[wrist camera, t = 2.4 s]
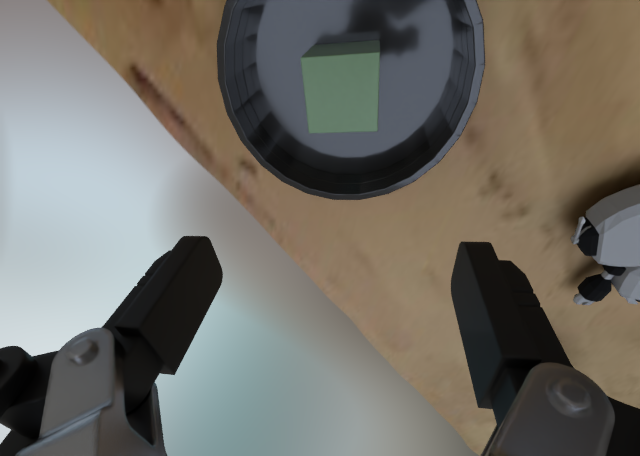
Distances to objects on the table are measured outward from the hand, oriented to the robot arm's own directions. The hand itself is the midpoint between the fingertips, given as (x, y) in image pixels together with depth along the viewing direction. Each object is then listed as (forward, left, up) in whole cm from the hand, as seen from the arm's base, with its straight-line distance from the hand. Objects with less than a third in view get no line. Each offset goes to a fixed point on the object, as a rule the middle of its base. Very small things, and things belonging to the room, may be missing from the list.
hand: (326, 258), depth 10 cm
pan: (-1, -1, -20) cm, 20 cm away
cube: (-1, -1, -20) cm, 20 cm away
